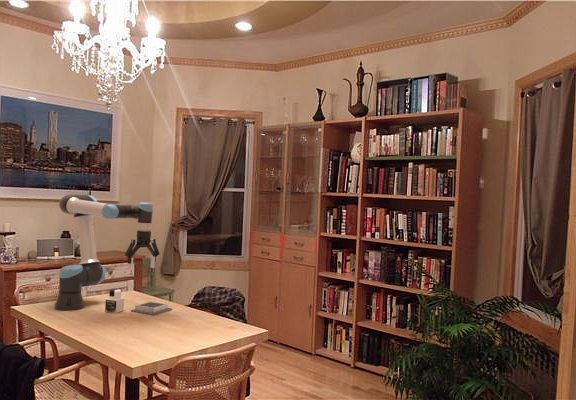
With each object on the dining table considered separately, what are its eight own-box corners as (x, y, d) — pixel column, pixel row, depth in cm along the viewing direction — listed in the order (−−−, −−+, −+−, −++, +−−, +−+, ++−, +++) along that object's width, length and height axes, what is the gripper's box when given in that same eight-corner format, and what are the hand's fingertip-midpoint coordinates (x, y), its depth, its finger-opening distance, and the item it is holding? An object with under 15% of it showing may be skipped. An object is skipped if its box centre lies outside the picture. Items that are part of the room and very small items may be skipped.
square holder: (130, 311, 262) (131, 305, 262) (149, 306, 276) (149, 300, 276) (154, 315, 255) (154, 309, 255) (172, 309, 270) (172, 304, 270)
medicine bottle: (104, 311, 259) (105, 290, 259) (113, 309, 265) (114, 288, 265) (115, 313, 256) (116, 291, 257) (123, 310, 263) (124, 289, 263)
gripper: (127, 231, 247) (124, 271, 248) (167, 230, 266) (164, 268, 266) (119, 229, 252) (117, 269, 252) (159, 229, 271) (157, 266, 271)
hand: (141, 268), depth 259 cm, fingers open, 13 cm apart
